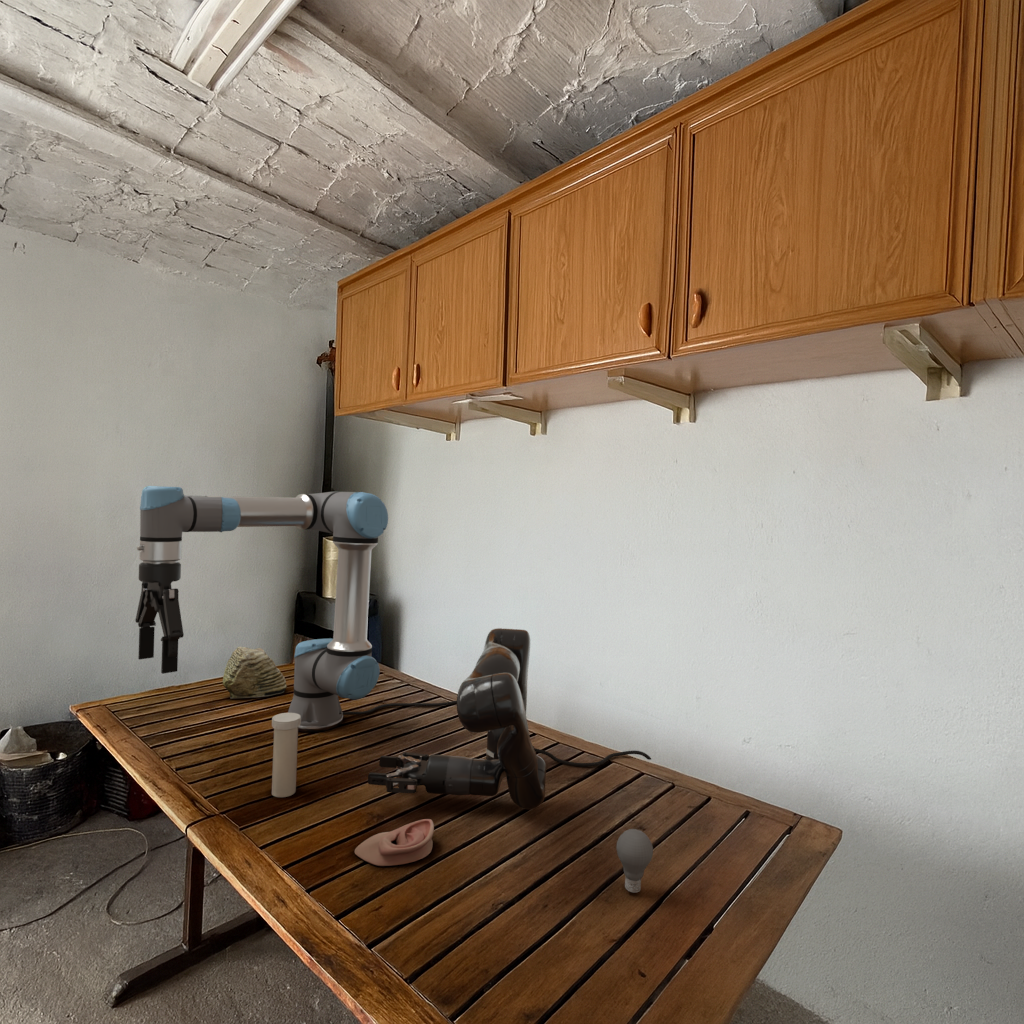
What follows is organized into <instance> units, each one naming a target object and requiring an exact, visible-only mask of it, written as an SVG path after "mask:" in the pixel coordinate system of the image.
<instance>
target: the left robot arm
mask: <svg viewBox="0 0 1024 1024" xmlns="http://www.w3.org/2000/svg"><path fill="white" fill-rule="evenodd" d="M139 504H140V506H139V510H140V511H139V515H140V516H139V519H140V521H139V522H140V523H139V526H140V527H139V529H140V530H139V532H140V533H139V535H140V536H139V545H137V546H136V550H137V551H139V557H138V558H139V560H140V561H142V562H140V563H138V580H139V581H140V582H141V591H140V596H139V601H138V606H137V610H136V615H135V624H137V626H138V628H139V629H138V658H137V659H138V660H146V659H147V660H148V659H153V658H154V657H155V631H156V630H155V626H157V623H156V621H155V620H156V617H157V615H158V616H159V621H160V625H161V629H162V634H163V636H161V638H160V641H161V668H160V670H161V671H160V673H161V674H164V675H165V674H169V673H176V672H178V666H179V665H178V661H179V640H180V639H182V638H183V637H184V635H185V634H184V628H183V621H182V614H181V607H180V601H179V588H173V587H172V583H173V582H178V581H180V580H181V575H182V563H181V562H179V561H181V560H182V555H183V533H215V532H217V533H223V532H233V531H235V530H236V529H237V528H256V527H257V528H259V527H261V528H262V527H263V528H264V527H265V528H267V527H295V528H297V529H298V530H302V531H303V530H308V531H309V530H310V531H318V532H323V533H328V534H332V543H333V544H334V545H335V546H336V548H337V551H338V552H337V566H336V567H337V568H336V569H337V570H336V583H335V584H336V586H335V602H334V603H335V605H334V621H333V638H317V639H308V640H304V641H300V642H299V643H297V645H296V646H295V650H294V655H293V657H294V672H293V673H294V674H293V695H292V696H293V697H292V699H291V702H290V704H289V708H288V711H287V713H297V714H299V715H300V716H301V724H300V726H298V732H301V733H316V732H325V731H329V730H332V729H335V728H337V727H339V726H340V725H342V723H343V722H344V716H363V715H368V714H371V713H373V712H376V711H378V710H380V709H383V708H392V707H444V706H450V705H452V706H453V705H457V700H452V701H446V702H436V703H435V702H431V703H430V702H429V703H428V702H409V703H408V702H394V703H385V704H384V703H383V704H380V705H377V706H375V707H372V708H370V709H368V710H363V711H343V709H342V706H341V702H340V699H339V697H340V698H342V699H347V700H353V701H355V700H356V701H357V700H360V699H363V698H364V697H366V696H368V695H369V694H370V693H371V692H372V690H373V689H375V687H376V686H377V683H378V680H379V678H380V673H381V672H380V671H381V670H380V664H379V662H377V660H376V659H375V658H374V657H373V656H372V653H373V645H372V643H371V642H370V641H369V640H368V639H367V638H368V624H369V623H368V621H369V618H368V617H369V602H370V587H371V586H370V585H371V568H372V567H371V566H372V550H373V549H374V548H375V547H377V545H378V544H379V537H380V536H381V535H383V534H384V531H385V530H386V529H387V527H388V524H389V513H388V509H387V506H386V504H385V503H384V502H383V500H382V499H381V498H380V497H379V496H377V495H376V494H373V493H371V492H370V493H369V492H364V491H337V490H336V491H326V492H319V493H318V492H317V493H299V494H297V495H296V496H295V497H290V496H289V497H285V496H284V497H283V496H234V495H233V496H232V495H231V496H230V495H187V494H186V495H185V494H184V489H183V488H182V487H181V486H164V485H163V486H161V485H160V486H159V485H147V486H145V487H143V489H142V490H141V496H140V503H139Z"/></svg>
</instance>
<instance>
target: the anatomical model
mask: <svg viewBox="0 0 1024 1024" xmlns="http://www.w3.org/2000/svg"><path fill="white" fill-rule="evenodd" d="M434 824H435V823H434V821H433V820H432V819H430V818H424V819H423V818H422V819H419V820H416V821H413V822H410V823H407V824H405V825H402V826H400V827H397V828H395V829H393V830H391V831H384V832H379V833H377V834H374V835H372V836H370V837H368V838H367V839H365V840H363V841H362V842H361V843H360V844H359V845H358V846H356V847H355V849H354V854H355V856H357V857H358V858H360V859H361V860H363V861H365V862H367V863H368V864H372V865H374V866H378V867H390V866H398V865H399V866H400V865H406V864H409V863H413V862H417V861H419V860H422V859H424V858H426V857H427V856H429V854H430V853H431V852H432V850H433V843H434V842H433V839H432V838H433V837H434V834H435V825H434Z"/></svg>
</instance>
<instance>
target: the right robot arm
mask: <svg viewBox="0 0 1024 1024" xmlns="http://www.w3.org/2000/svg"><path fill="white" fill-rule="evenodd" d="M530 655H531V635H530V632H529V631H528V630H526V629H520V628H519V629H518V628H502V627H498V628H492V629H491V630H490V631H489V632H488V633H487V635H486V639H485V641H484V646H483V651H482V653H481V654H480V656H479V657H478V660H477V661H476V663H475V666H474V668H473V669H472V671H471V673H470V674H469V675H468V676H467V677H466V678H465V679H464V680H463V681H462V682H461V684H460V686H459V689H458V691H457V696H456V701H457V703H456V712H457V718H458V719H459V722H460V724H461V726H462V727H463V728H464V729H465V730H466V731H467V732H469V733H473V734H474V733H475V734H481V733H485V732H486V748H485V754H486V755H485V758H486V759H485V758H473V757H472V758H471V757H466V756H461V755H460V756H459V755H445V754H428V753H420V752H419V753H417V752H410V751H409V752H408V751H404V752H402V754H400V755H397V756H395V755H394V756H391V755H380V757H379V760H378V761H379V762H378V763H379V764H378V765H379V767H380V768H390V769H391V768H392V769H396V768H397V770H396V771H395V772H391V773H385V772H369V773H368V775H367V784H368V785H372V786H384V787H385V788H386V792H387V793H394V794H395V793H396V794H416V793H417V792H418V791H417V789H418V787H419V786H423V787H425V788H424V789H425V791H426V793H427V794H434V795H435V794H436V795H448V796H450V795H451V796H469V795H471V796H482V797H494V796H497V794H498V793H499V791H500V788H501V785H502V782H503V780H504V779H505V778H506V784H507V790H508V795H509V797H510V799H511V801H512V802H513V803H514V804H515V805H516V806H517V807H519V808H521V809H523V810H534V809H537V808H539V807H540V806H541V805H542V804H543V802H544V800H545V797H546V783H547V782H546V781H547V764H546V761H545V760H544V759H543V758H542V757H541V756H540V755H538V754H541V755H545V756H547V757H548V758H550V759H551V760H553V761H554V762H556V763H559V764H562V765H564V766H565V765H567V766H572V767H581V768H588V767H597V766H598V767H599V766H601V765H603V764H605V763H607V762H608V761H609V760H610V759H612V758H616V757H622V756H628V755H638V756H639V755H640V756H642V757H643V758H645V759H647V760H648V761H649V760H652V758H651V756H650V755H648V754H647V753H646V752H643V751H640V750H625V751H619V752H613V753H610V754H608V755H606V756H605V757H604V758H602V759H601V760H599V761H594V762H576V761H575V762H574V761H568V760H563V759H560V758H558V757H556V756H555V755H553V754H552V753H551V752H549V751H547V750H543V749H540V748H536V747H535V746H534V745H533V743H532V740H531V737H530V730H529V729H530V728H529V724H528V717H527V706H528V705H527V703H528V679H529V677H528V676H529V664H530ZM537 753H538V754H537Z"/></svg>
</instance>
